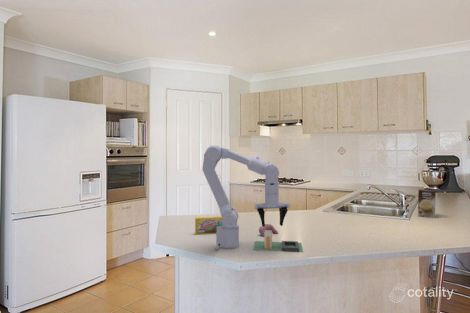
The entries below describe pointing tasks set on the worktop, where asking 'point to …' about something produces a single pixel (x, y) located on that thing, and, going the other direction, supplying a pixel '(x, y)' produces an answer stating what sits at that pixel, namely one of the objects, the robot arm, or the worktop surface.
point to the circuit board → (273, 246)
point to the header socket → (291, 243)
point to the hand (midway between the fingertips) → (272, 225)
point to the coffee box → (426, 203)
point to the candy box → (207, 224)
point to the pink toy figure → (267, 227)
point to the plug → (268, 239)
